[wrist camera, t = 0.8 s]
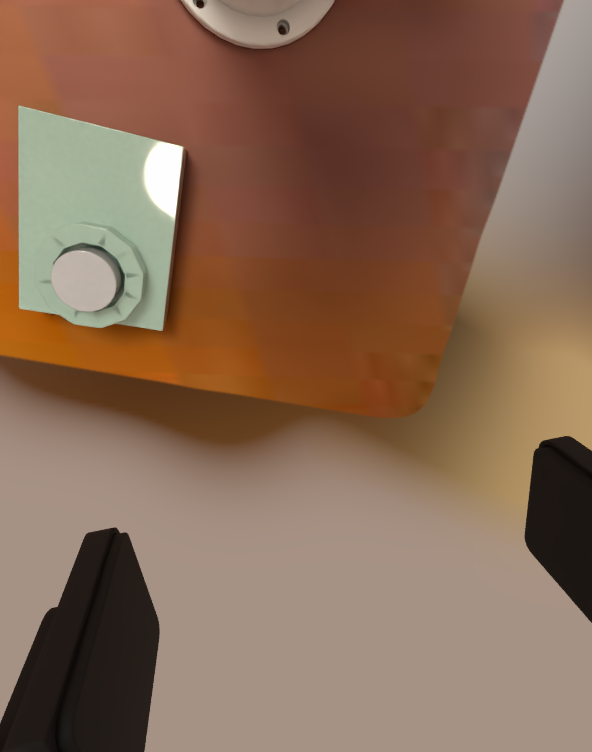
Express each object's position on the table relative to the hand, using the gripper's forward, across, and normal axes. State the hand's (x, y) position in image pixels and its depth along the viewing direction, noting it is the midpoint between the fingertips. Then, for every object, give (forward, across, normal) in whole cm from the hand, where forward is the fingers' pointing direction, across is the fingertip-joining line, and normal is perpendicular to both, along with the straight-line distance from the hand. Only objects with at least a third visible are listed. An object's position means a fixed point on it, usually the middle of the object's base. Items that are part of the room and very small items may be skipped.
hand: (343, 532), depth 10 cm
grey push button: (+25, +11, -3) cm, 28 cm away
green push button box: (+30, +10, -6) cm, 32 cm away
